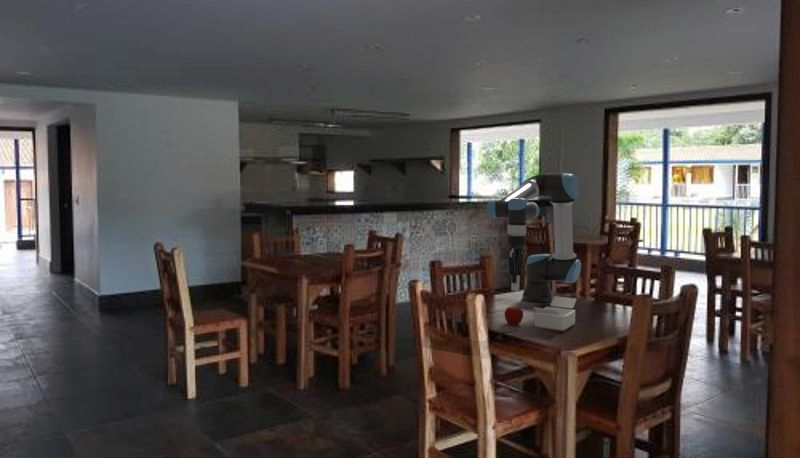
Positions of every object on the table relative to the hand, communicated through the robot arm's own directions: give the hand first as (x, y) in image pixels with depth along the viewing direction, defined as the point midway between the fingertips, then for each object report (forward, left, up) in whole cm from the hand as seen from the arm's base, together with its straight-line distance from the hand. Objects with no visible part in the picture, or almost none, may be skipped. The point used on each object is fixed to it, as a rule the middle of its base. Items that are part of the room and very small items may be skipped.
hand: (515, 290), depth 267 cm
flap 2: (-19, +15, -6) cm, 25 cm away
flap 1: (+2, +15, -7) cm, 16 cm away
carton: (-8, +15, -15) cm, 23 cm away
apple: (0, 0, -15) cm, 15 cm away
